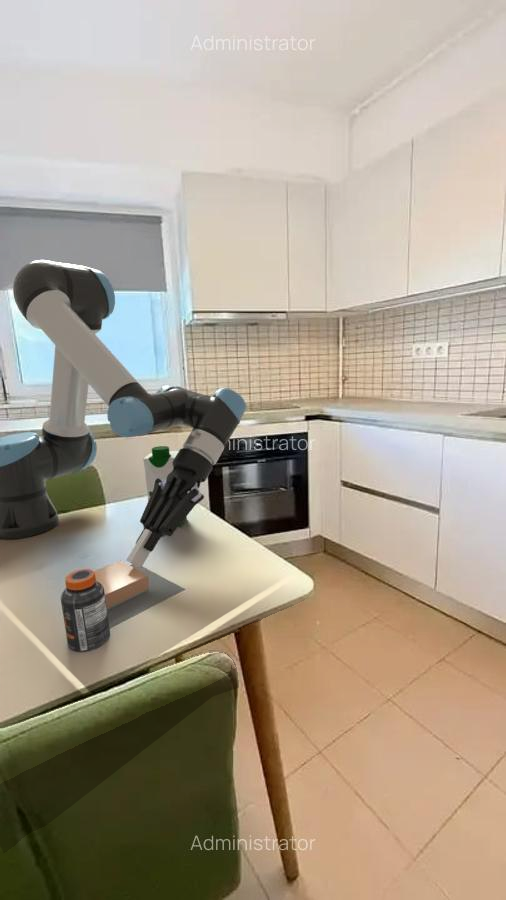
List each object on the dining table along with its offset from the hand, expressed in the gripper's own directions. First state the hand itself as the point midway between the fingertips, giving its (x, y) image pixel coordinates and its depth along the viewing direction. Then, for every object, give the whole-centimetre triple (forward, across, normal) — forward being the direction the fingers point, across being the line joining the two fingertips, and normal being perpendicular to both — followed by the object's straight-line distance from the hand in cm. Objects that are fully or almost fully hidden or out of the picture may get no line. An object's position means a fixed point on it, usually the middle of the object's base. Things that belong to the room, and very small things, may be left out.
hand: (133, 564), depth 81 cm
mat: (+5, +1, +1) cm, 5 cm away
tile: (+2, 0, +2) cm, 2 cm away
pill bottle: (+13, +9, -6) cm, 17 cm away
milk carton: (-13, -20, +19) cm, 30 cm away
